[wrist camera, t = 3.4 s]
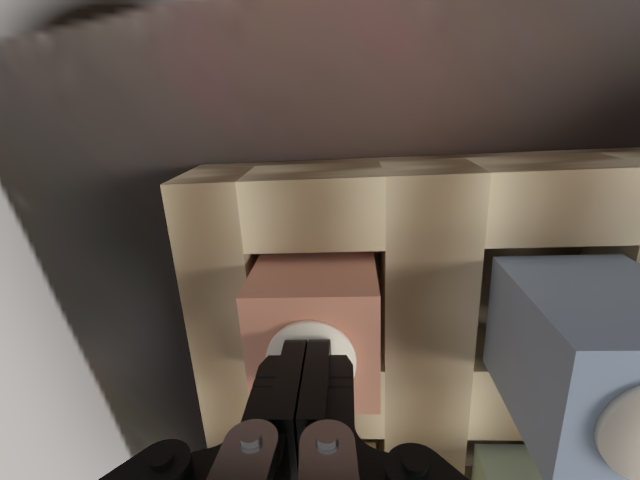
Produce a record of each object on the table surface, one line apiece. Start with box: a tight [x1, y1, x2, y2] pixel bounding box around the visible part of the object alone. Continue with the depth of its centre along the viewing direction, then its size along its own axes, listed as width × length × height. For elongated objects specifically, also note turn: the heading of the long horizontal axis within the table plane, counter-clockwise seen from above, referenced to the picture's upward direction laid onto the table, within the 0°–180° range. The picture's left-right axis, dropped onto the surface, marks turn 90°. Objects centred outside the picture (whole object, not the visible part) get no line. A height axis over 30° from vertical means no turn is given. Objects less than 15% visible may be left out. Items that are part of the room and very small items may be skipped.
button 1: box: [236, 251, 381, 414], centre depth 17 cm, size 5×5×6 cm
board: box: [160, 147, 640, 480], centre depth 20 cm, size 20×20×4 cm
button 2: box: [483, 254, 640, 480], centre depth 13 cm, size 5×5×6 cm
